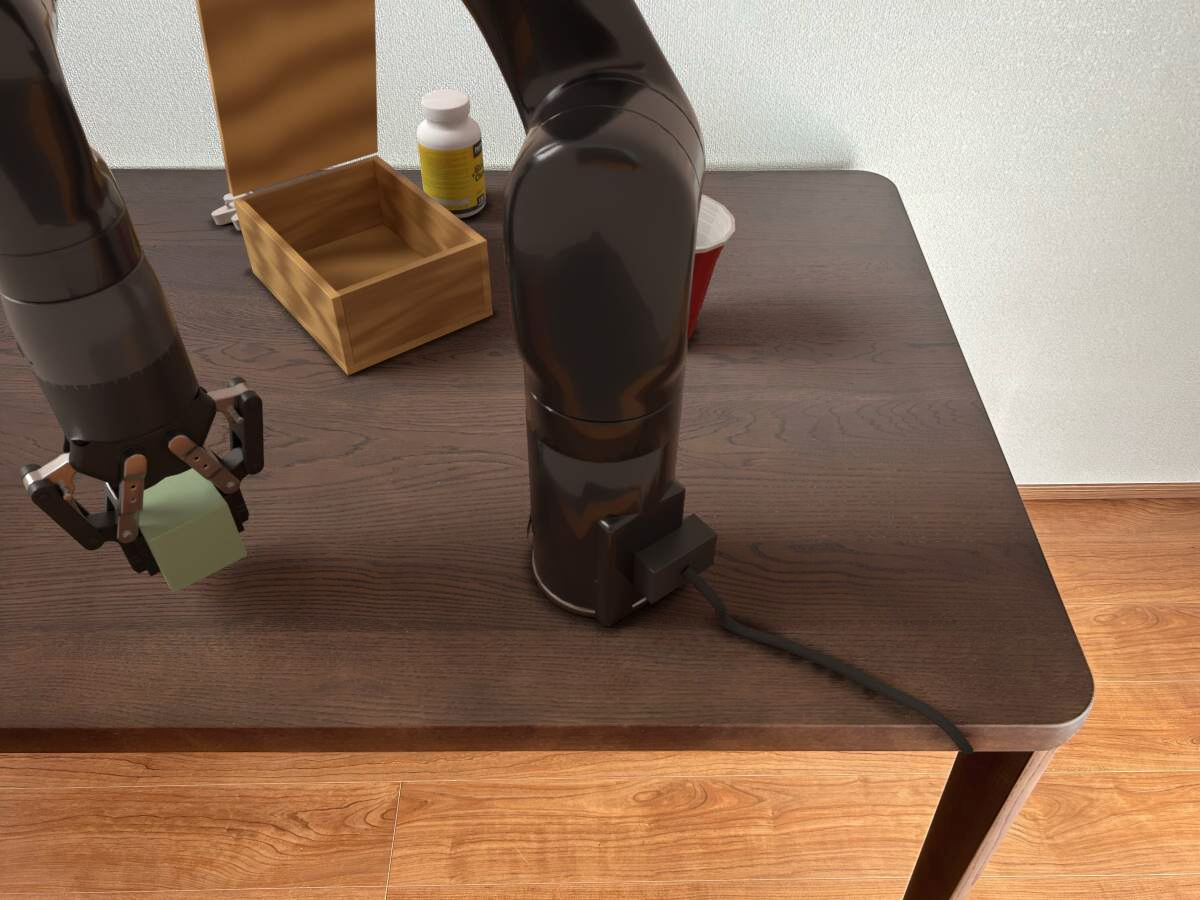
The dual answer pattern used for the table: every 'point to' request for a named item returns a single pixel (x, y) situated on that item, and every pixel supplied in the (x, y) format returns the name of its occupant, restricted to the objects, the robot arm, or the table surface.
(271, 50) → the lid
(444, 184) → the pill bottle
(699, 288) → the plastic cup
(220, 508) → the block
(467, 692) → the table surface
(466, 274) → the chest
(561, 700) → the table surface
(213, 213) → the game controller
